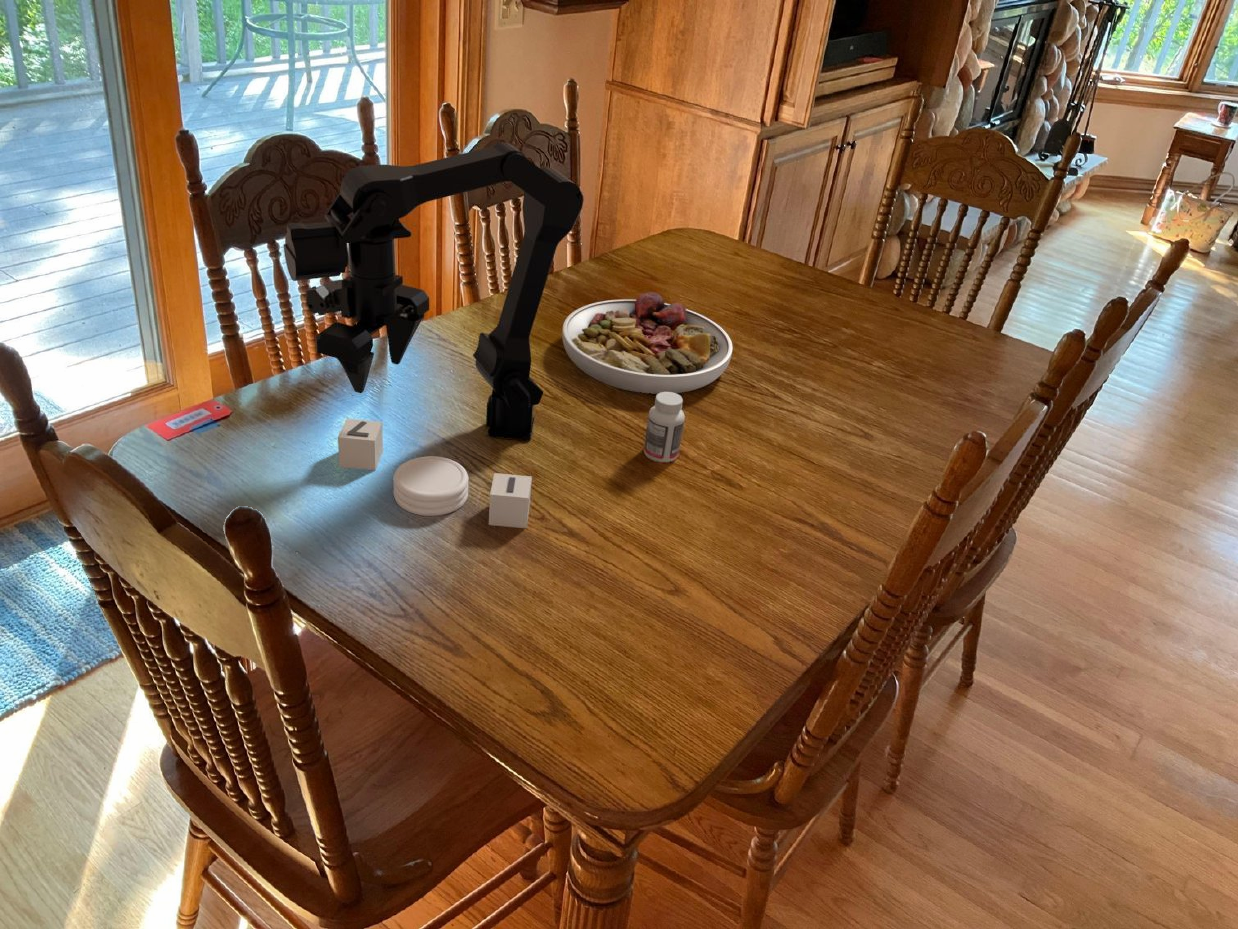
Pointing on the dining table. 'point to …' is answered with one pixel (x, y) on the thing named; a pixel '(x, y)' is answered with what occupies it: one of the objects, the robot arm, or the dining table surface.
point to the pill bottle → (664, 428)
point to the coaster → (430, 486)
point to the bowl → (646, 345)
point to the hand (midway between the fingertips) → (377, 377)
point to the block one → (510, 500)
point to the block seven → (360, 444)
